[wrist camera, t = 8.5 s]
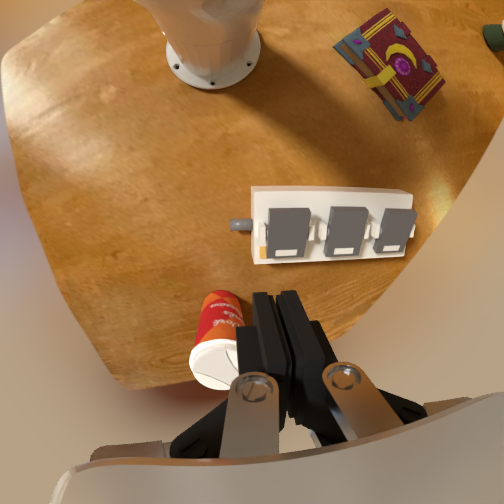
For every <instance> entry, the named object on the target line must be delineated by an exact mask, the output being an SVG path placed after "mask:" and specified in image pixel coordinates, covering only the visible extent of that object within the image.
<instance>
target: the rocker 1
mask: <svg viewBox="0 0 504 504" xmlns="http://www.w3.org/2000/svg"><path fill="white" fill-rule="evenodd" d="M310 218H311V211H310V209H309V208H269V210H268V225H267V228H266V238H267V240H266V258H267V259H272V258H294V257H304V253H305V247H306V242H307V236H308V230H309V224H310Z"/></svg>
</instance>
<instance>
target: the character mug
mask: <svg viewBox="0 0 504 504" xmlns="http://www.w3.org/2000/svg"><path fill="white" fill-rule="evenodd" d="M483 33H484V36H485V38H486V41H487V43H488V45H489V46H490V48H491V49H492V50H493V51H496V52H498V51H502V50H504V20H503V21H502V25H500V24H491V25H485V26H483Z"/></svg>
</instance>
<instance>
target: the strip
mask: <svg viewBox="0 0 504 504" xmlns="http://www.w3.org/2000/svg"><path fill="white" fill-rule="evenodd" d="M412 201H413V194H410V193H408V192H405V191H403V190H400V189H386V188H366V187H337V186H251V219H230V225H231V231H244V230H251V253H252V257H253V261H254V264H270V263H291V262H311V261H330V260H349V259H366V258H383V257H400V256H404V253H405V248H404V250H403V252H395V253H376V254H375V252H374V250H373V245H374V242H375V239H376V238H379V232H380V224H381V221H382V218H383V214H384V211H385V208H398V209H412ZM331 206H356V207H366V208H367V209H368V210H369V213H368V218H367V222H366V227H365V231H364V235H363V240H362V244H361V248H360V252H359V256H340V257H325V255H324V253H323V251H324V245H325V240H326V235H327V227H328V220H329V214H330V207H331ZM269 208H309V209H310V211H311V218H310V224H309V230H308V236H307V242H306V247H305V253H304V257H294V258H272V259H267V258H266V240H267V238H266V228H267V225H268V210H269ZM414 230H415V224H414V225H413V228H412V230H411V233H410V235H409V237H413V236H414ZM405 247H406V245H405Z"/></svg>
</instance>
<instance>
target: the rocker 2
mask: <svg viewBox="0 0 504 504" xmlns="http://www.w3.org/2000/svg"><path fill="white" fill-rule="evenodd" d="M416 217H417V212H416V211H415V210H414V209H398V208H385V211H384V214H383V218H382V221H381V224H380V232H379V238H376V239H375V242H374V245H373V250H374V252H375V254H376V253H395V252H403V250H404V248H405V245H406V243H407V240H408V238H409V235H410V233H411V230H412V228H413V225H414V222H415V220H416Z"/></svg>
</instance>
